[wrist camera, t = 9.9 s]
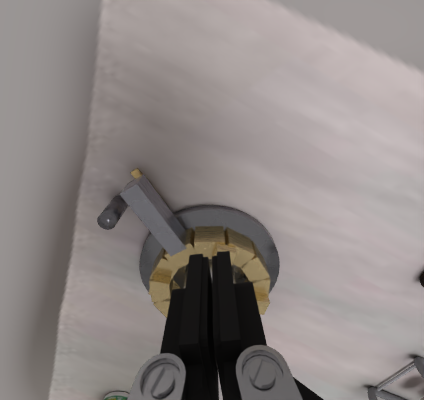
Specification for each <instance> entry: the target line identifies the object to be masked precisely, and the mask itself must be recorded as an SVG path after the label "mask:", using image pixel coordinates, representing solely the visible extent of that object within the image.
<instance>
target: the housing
mask: <svg viewBox="0 0 424 400" xmlns="http://www.w3.org/2000/svg"><path fill="white" fill-rule="evenodd" d="M131 174H132V175H133V177H134V178H135V179H136V178H138V177H140V176H141V175H143V174H142V173H141V172H140V171H139V169H138V168H137V169H135V170H134V171H132V172H131ZM127 206H128V204H127V203H126V201H125V200H124V199H123V198H122V197H121V195H117V196H115V197H114V198H113V200H112V201H111V202H110V203H109V205H108V206H107V207H106V208H105V210H104V211H103V212H102V213H101V215H100V216H99V217H98V219H97V222H98V224H99V226H100V227H102V228H103V229H107V230H109V229H112V228H114V227H115V225H116V224H117V222H118V220H119V219H120V217H121V216H122V214H123V213H124V211H125V209H126V208H127ZM174 216H175V217H176V218H177V220H178V221H179V222H180V224H181V225H182V226H183V228H184V229H185V230H187V229H189V228H191V227H192V228H193V230H194V231H195V226H223V227H224V231H225V229H226V228H227V227H228V228H230V229H232V230H234V231H236V232H238V233H241V234H243V235H245V236H247V237H249V238H250V239H251V241H253V242H254V243H255V245H256V246H257V248H258V250H259V251H260V253H261V255H262V256H263V258H264V260H265V263H266V266H267V270H268V273H269V276H270V287H269V293H270V291H271V290H272V288H273V287H274V285H275V283H276V280H277V277H278V274H279V256H278V252H277V249H276V247H275V244H274V242H273V239H272V237H271V236H270V234H269V232H268V231H267V230H266V229H265V227H264V226H263V225H262V224H261V223H259V222H258V221H257V220H256V219H254V218H253V217H251V216H250V215H248V214H246V213H244V212H242V211H239V210H236V209H233V208H229V207H225V206H217V205H202V206H195V207H191V208H187V209H183V210H181V211H178V212H176V213H174ZM162 247H163V246H162V245H161V244H160V243H159V241H158V240H157V239H156V238H155V237H154V235H153V234H152V233H150V235H149V236H148V238H147V240H146V242H145V245H144V247H143V250H142V253H141V257H140V274H141V278H142V281H143V283H144V285H145V287H146V289H147V290H148V292H149V289H150V285H149V279H150V275H151V272H152V268H153V265H154V262H155V259H156V258H157V256H158V254H159V253H160V251H161V249H162ZM209 265H210V272H211V278H212V259H209ZM187 271H188V264H187V265H185V266H183V267H181V268H179V269H178V270H177V272H176V273H175V275H174V281H175V282H176V283H177V284H178V286H179V287H180V288H185V287H186V279H187ZM232 274H233V282H234V283H242V282H244V281H245V280H246V275H245V273H244V272H243V270H242V269H241V268H240V267H238V266H236V265H233V264H232Z"/></svg>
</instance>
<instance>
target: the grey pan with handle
mask: <svg viewBox="0 0 424 400" xmlns="http://www.w3.org/2000/svg"><path fill="white" fill-rule="evenodd" d="M120 195H121V197H122V198H123V199H124V200H125V201H126V203H127V204H128V205H129V206H130V207H131V209H132V210H133V211H134V212H135V214H136V215H137V216H138V217H139V218H140V220H141V221H142V222H143V223H144V224H145V226H146V227H147V228H148V229H149V231H150V232H151V233H152V234H153V235H154V237H155V238H156V239H157V240H158V241H159V243H160V244H161V245H162V246H163V247H162V249H161V251H160V253H159V254H158V256H157V258H156V259H155V262H154V265H153V268H152V272H151V275H150V279H149V285H150V289H149V294H150V295H151V298H152V302H154V305H155V307H156V308H157V309H158V310H159V311H160V312H161V313H162V314H163V315H164V316H165V317H166V318H167V314H168V309H169V304H170V299H171V293H172V290H173V289H181V288H180V287H179V286H178V284H177V283H176V282H175V281H174V275H175V273H176V272H177V270H178V269H179V268H181V267H183V266H185V265H187V264H188V263H189V256H190V255H193V254H203V257H208V258H209V259H212V256H217V252H222V251H230V258H231V266H232V264H233V265H236V266H238V267H240V268H241V269H242V270H243V272H244V273H245V275H246V280H245V281H244V282H252V283H253V286H254V291H255V295H256V299H257V304H258V308H259V313H260V314H262V315H264V313H265V311H266V309H267V307H268V305H269V304H270V302H269V298H268V294H269V287H270V276H269V273H268V270H267V266H266V263H265V260H264V258H263V256H262V255H261V253H260V251H259V250H258V248H257V246H256V245H255V243H254V242H253V241H251V239H250V238H249V237H247V236H245V235H243V234H241V233H238V232H236V231H234V230H232V229H230V228H228V227H227V228H226V229H225V231H224V227H223V226H195V231H194V230H193V228H192V227H191V228H189V229H187V230H185V229H184V228H183V226H182V225H181V224H180V222H179V221H178V220H177V218H176V217H175V216H174V214H173V213H172V212H171V210H170V209H169V208H168V206H167V205H166V204H165V202H164V201H163V200H162V198H161V197H160V196H159V194H158V193H157V191H156V190H155V189H154V187H153V186H152V185H151V183H150V182H149V181H148V179H147V178H146V177H145V175H144V174H143V175H141V176H140V177H138V178H136V179H135V180H133V181H131V182H130V183H128V184H127V185H126V187H125V188H124V189H123V191H122V192H121V193H120Z"/></svg>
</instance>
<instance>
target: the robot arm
mask: <svg viewBox="0 0 424 400" xmlns="http://www.w3.org/2000/svg"><path fill="white" fill-rule="evenodd" d="M218 372H219V378H220V384H221V390H222V396H223V400H323V399H322V398H321V397H319V396H318V395H317V394H315V393H314V392H313V391H311V390H310V389H308V388H307V387H306V386H304V385H303V384H302V383H300V382H299V381H298V380H296V379H295V378H294V377H293V376H292V374H291V372H290V369H289V367H288V365H287V363H286V361H285V360H284V358H283V356H282V355H281V354H280V353H279V352H277V351H276V350H275V349H273V348H271V347H269V346H267V344H266V339H265V335H264V330H263V326H262V322H261V317H260V313H259V308H258V304H257V299H256V295H255V291H254V286H253V283H252V282H242V283H234V282H233V274H232V266H231V258H230V251H222V252H217V256H212V278H211V272H210V265H209V258H208V257H203V254H193V255H190V256H189V263H188V271H187V279H186V287H185V288H181V289H173V290H172V293H171V299H170V304H169V309H168V314H167V320H166V325H165V330H164V336H163V341H162V346H161V352H160V354H159V355H156V356H154V357H152V358H151V359H149V360H148V361H147V362H146V363H145V364H144V365H143V366H142V367H141V368H140V370H139V372H138V374H137V376H136V378H135V381H134V383H133V386H132V388H131V391H130V393H129V396H128V398H127V399H126V400H219V390H218Z"/></svg>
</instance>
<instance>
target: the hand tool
mask: <svg viewBox="0 0 424 400" xmlns="http://www.w3.org/2000/svg"><path fill="white" fill-rule="evenodd" d="M420 283H421V285H422V286H423V287H424V272H423V273H422V275H421V277H420Z"/></svg>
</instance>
